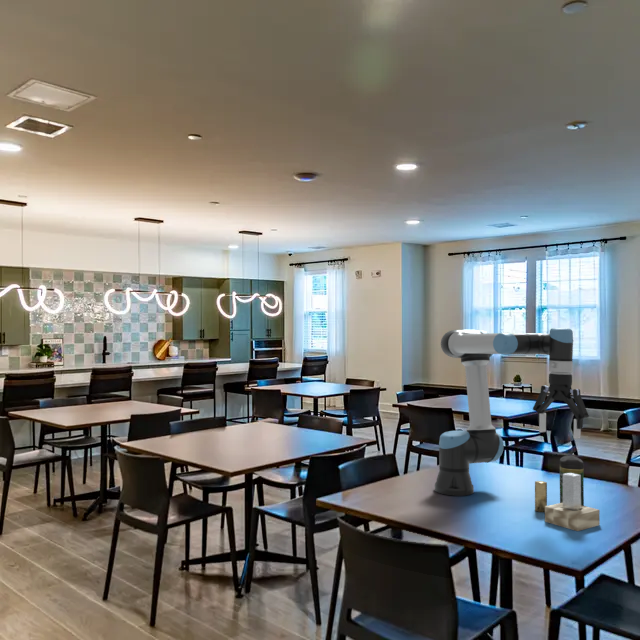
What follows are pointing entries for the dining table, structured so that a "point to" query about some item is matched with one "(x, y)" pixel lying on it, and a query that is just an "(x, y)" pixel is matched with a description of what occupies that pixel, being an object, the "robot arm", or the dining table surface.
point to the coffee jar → (571, 466)
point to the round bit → (540, 496)
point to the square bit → (572, 491)
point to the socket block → (572, 517)
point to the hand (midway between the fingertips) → (559, 435)
